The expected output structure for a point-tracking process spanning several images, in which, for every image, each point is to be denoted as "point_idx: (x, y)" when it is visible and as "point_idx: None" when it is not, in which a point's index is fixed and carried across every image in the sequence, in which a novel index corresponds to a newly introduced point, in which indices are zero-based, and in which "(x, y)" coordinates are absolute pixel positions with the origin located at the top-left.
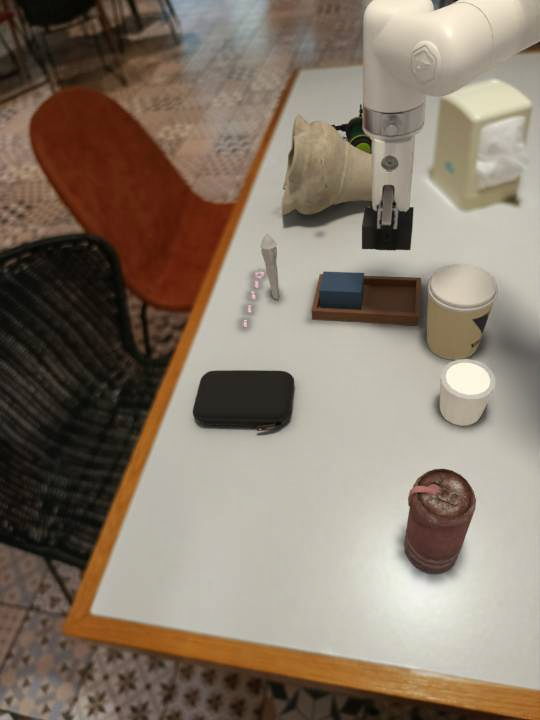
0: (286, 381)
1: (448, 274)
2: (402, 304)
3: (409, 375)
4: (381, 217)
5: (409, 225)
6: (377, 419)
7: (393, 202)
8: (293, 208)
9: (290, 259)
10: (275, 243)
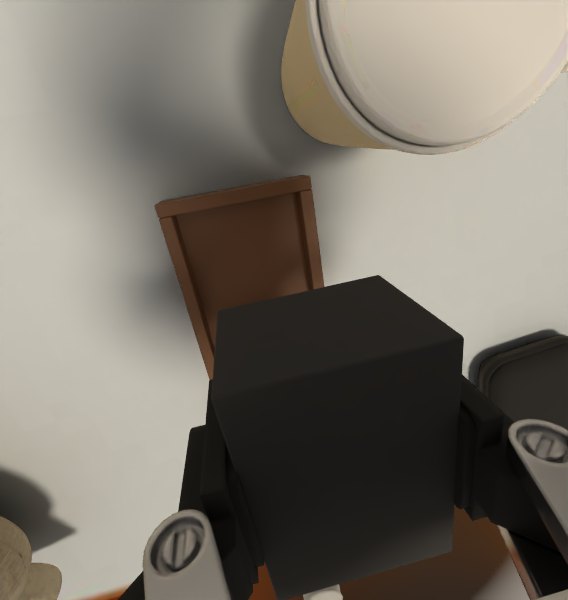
0: (521, 369)
1: (405, 67)
2: (251, 229)
3: (450, 162)
4: (528, 560)
5: (444, 358)
6: (551, 198)
7: (236, 533)
8: (36, 572)
9: (173, 481)
10: (320, 598)
